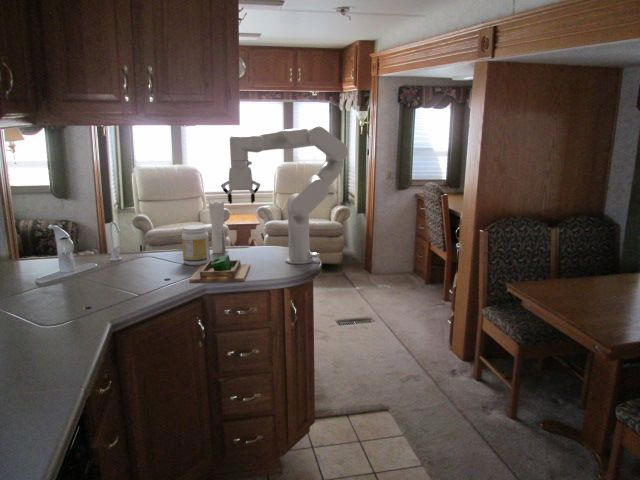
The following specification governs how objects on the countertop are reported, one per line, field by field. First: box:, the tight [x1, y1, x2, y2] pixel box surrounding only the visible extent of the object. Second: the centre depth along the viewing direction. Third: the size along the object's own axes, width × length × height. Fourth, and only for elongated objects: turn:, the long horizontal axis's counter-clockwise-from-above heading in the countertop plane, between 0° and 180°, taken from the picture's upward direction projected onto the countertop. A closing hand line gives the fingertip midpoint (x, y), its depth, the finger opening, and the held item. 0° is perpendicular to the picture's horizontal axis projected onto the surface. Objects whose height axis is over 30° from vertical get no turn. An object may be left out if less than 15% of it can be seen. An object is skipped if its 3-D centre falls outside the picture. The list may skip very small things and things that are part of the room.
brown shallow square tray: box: [189, 259, 251, 283], centre depth 210 cm, size 22×22×4 cm
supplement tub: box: [181, 224, 211, 266], centre depth 229 cm, size 12×12×17 cm
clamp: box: [211, 254, 232, 271], centre depth 210 cm, size 12×6×9 cm, turn 175°
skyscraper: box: [207, 197, 229, 255], centre depth 246 cm, size 8×8×28 cm
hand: (241, 203), depth 219 cm, fingers open, 9 cm apart
